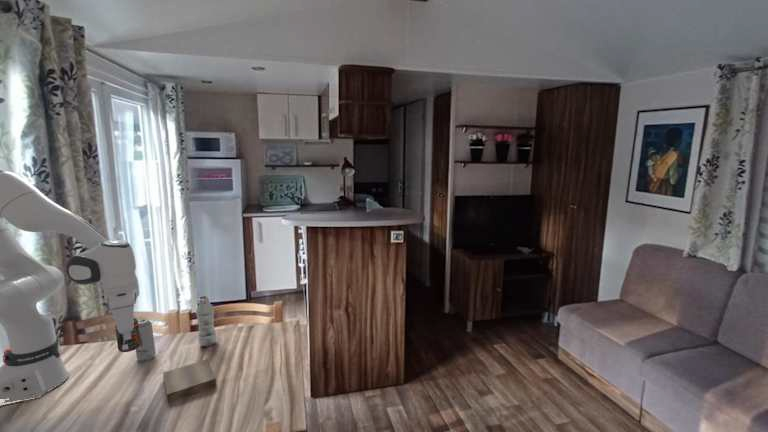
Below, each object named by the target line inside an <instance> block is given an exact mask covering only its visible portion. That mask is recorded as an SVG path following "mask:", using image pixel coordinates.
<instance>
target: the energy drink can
mask: <svg viewBox="0 0 768 432" xmlns="http://www.w3.org/2000/svg"><path fill="white" fill-rule="evenodd" d="M137 320H138V325H139V333H140V342H141V345H140V347H138V348H137V349H135V354H136V359H137V360H138V361H139V362H142V363H143V362H147V361H150V360H152V359H154V357H155V355H156V347H155V346H156V345H155V339H154V330H153V323H152V321H150V319H149V318H147V317H145V318H140V319H137Z"/></svg>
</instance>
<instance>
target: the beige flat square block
mask: <svg viewBox="0 0 768 432" xmlns="http://www.w3.org/2000/svg"><path fill="white" fill-rule="evenodd" d="M162 372H163V373H162V377H163V383H164V387H165V393H166V399H167V403H168V404H170V403H172V402H176V401H179V400H182V399H184V398H187V397H189V396H193V395H196V394H199V393H201V392H205V391H207V390H210V389H213V388H216V387H217V380H216V376H215V374H214V372H213V369H212V367H211V364H210V362H209V360H208V359H204V360H200V361H197V362H193V363H190V364H187V365H184V366H180V367H178V368H174V369H171V370H167V371H162Z"/></svg>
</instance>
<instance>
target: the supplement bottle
mask: <svg viewBox="0 0 768 432" xmlns="http://www.w3.org/2000/svg"><path fill="white" fill-rule="evenodd" d="M138 320H139V319H138V318H135V317H134V328H133V330H132V331H131V339H129V340H124V335H123V333H119V332H118V330H117V327H116V323H115V325H114V326H115V327H114V329H115V336H116V342H117V344H116V345H117V349H118V351H119V352H121V353H130V352H132V351H136V349H137V348H138V347H140V345H141V342H140V333H139V325H138Z"/></svg>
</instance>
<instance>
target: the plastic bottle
mask: <svg viewBox="0 0 768 432" xmlns="http://www.w3.org/2000/svg"><path fill="white" fill-rule="evenodd" d="M198 304H199V305H198V306H197V308H196V310H195V314H196V319H197V323H198V338H197V339H198V345H200V346H201V347H209V346H210V347H211V346H213V345H214V344H215V343H216V342H217V339H218V337H217V333H216V329H215V326H214V325H215V324H214V323H215V321H214V319H215V317H214V316H215V308H214V305H212V304H211V303H210V297H209V296H207V295H203V296H199V297H198Z"/></svg>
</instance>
